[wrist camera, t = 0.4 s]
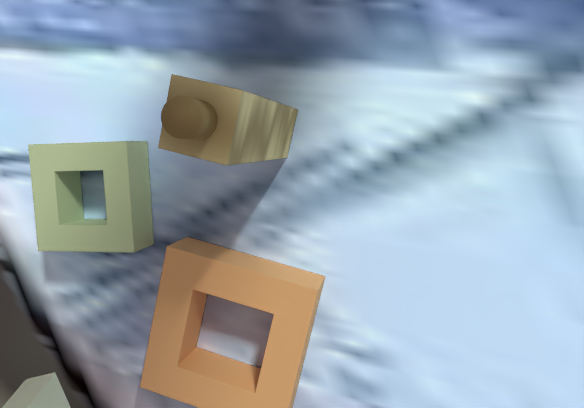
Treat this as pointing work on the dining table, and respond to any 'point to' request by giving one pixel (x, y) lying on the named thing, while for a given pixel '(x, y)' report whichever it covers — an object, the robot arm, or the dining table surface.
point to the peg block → (224, 123)
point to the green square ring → (68, 196)
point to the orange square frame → (241, 289)
